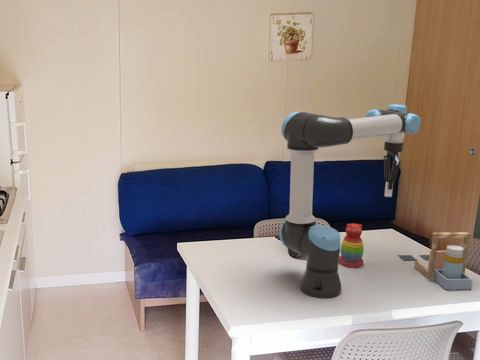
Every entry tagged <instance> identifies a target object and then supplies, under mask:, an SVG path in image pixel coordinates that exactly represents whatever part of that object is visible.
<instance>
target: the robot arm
mask: <svg viewBox="0 0 480 360" xmlns="http://www.w3.org/2000/svg"><path fill="white" fill-rule="evenodd" d="M420 127H421V118H420V116H418V114H415V113H410V112H409V113H408V112H407V106H406V105H405V104H404V105H403V104H395V103H393V104H389V105H388V108H387V109H370V110H369V111H367V112H366V114H365V117H357V118H356V117H355V118H350V119H349V118H347V117H345V116H341V117H336V116H335V117H334V116H333V117H332V116H329V115H323V114H317V113H311V112H306V111H294V112H291V113H289V114H288V115H287V117H286V118H284V120H283V123H282V126H281V134H282V137H283V138H284V139H285V140H286V142H287V144H286V145H287V147H286V149H287V150H288V151H289V152H290V178H289V179H290V183H289V184H290V185H289V188H290V189H289V190H290V191H289V212H288V214H287V215H286V216H285V219H284V221H282V223H281V224H282V225H280V227H279V231H278V234H279V239H280V240H279V241H280V242H281V244H282V245H283V246H285V247H286V248H287V249H289V250H290V251H292V252H295V253H297V254H299V255H301V256H303V257H305V258H306V266H305V267H306V268H305V270H304V273H303V276H302V279H301V280H300V286H299V288H300V291H302V293H304V294H306V295H308V296H311V297H315V298H322V299H325V298H326V299H327V298H328V299H330V298H335V297H338V296H339V295H340V294H341V293H342V283H341V279H340V275H339V265H340V263H339V256H340V255H341V245H342V243H341V234H340V233H339V231H338V230H337V229H335V228H333V227H331V226H326V225H322V224H316V223H317V222H316V221H317V220H316V217H315V216H314V215H313V197H314V194H313V193H314V192H313V191H314V171H315V170H314V169H315V167H314V163H315V153H316V152H317V151H319V148H329V147H336V146H341V145H347V144H349V143H350V142H352V141H355V140H356V141H357V140H361V139H368V138H374V137H382V136H384V140H385V141H384V145H383V150H384V151H386V155H384V156H383V161H384V162H383V163H384V164H383V169H384V172H383V173H384V174H383V178H384V179H385V186H384V197H386V198H392V197H393V189H394V182H397V177H398V174H399V169H400V166H401V162H402V161H401V160H399V159H400V158H399V153H402V152H403V147H404V143H403V142H404V138H405V136H406V135H405V134H417V132H418V131H419V129H420Z"/></svg>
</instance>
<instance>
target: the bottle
mask: <svg viewBox="0 0 480 360" xmlns="http://www.w3.org/2000/svg"><path fill="white" fill-rule="evenodd" d="M445 251H446V255H445V257H444V262H443V270H442V275H443V276H444V277H446V278H447V279H461V275H462V267H463V251H464V249H463V246H459V245H458V244H457V245H455V244H448V245H446V249H445Z"/></svg>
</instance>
